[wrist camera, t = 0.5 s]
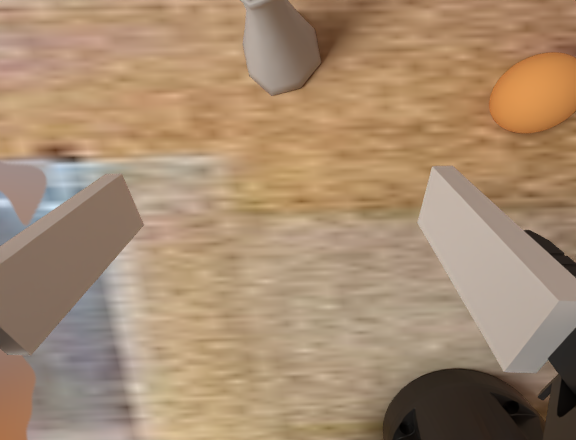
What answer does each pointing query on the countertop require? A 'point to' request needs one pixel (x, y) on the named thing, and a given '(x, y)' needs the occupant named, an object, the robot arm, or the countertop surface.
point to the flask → (278, 45)
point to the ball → (535, 93)
